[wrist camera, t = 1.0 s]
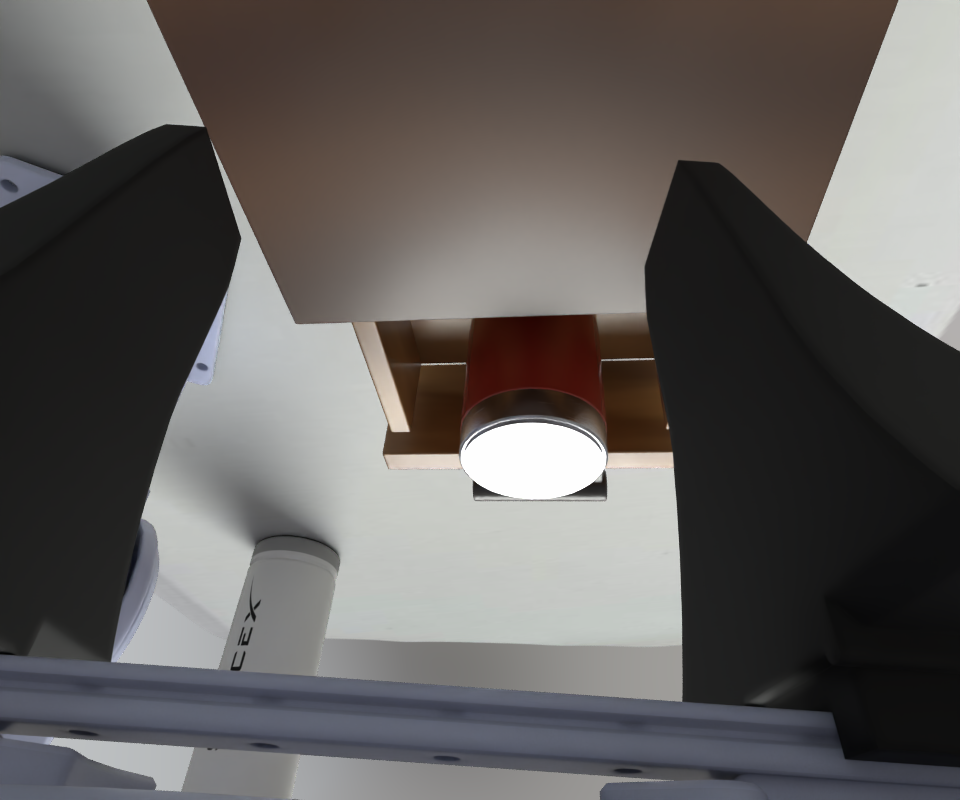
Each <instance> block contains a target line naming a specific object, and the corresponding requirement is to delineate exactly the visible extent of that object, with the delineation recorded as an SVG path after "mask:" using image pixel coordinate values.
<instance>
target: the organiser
mask: <svg viewBox="0 0 960 800" xmlns="http://www.w3.org/2000/svg"><path fill="white" fill-rule="evenodd" d="M147 2H148V4H149V7H150V9H151V11H152V13H153V15H154V17H155V20H156V22H157V24H158V26H159V28H160V30H161V33H162V35H163V37H164V39H165V41H166V43H167V46H168V48H169V50H170V52H171V54H172V56H173V59H174V61H175V63H176V65H177V67H178V70H179V72H180V74H181V76H182V78H183V80H184V83H185V85H186V87H187V89H188V91H189V93H190V96H191V98H192V100H193V102H194V104H195V106H196V109H197V111H198V113H199V115H200V117H201V119H202V122H203V124H204V126H205V127H206V128H207V131H208V134H209V137H210V139H211V141H212V143H213V146H214V148H215V150H216V152H217V154H218V156H219V159H220V161H221V163H222V165H223V167H224V169H225V172H226V174H227V176H228V178H229V180H230V182H231V185H232V187H233V189H234V191H235V193H236V195H237V198H238V200H239V202H240V204H241V206H242V208H243V211H244V213H245V215H246V217H247V219H248V222H249V224H250V226H251V228H252V230H253V232H254V235H255V237H256V239H257V241H258V243H259V245H260V248H261V250H262V252H263V254H264V256H265V258H266V261H267V263H268V265H269V267H270V269H271V271H272V274H273V276H274V278H275V280H276V282H277V284H278V287H279V289H280V291H281V293H282V295H283V298H284V300H285V302H286V304H287V306H288V308H289V311H290V313H291V315H292V317H293V319H294V321H295V323H296V324H316V323H346V322H377V321H408V320H439V319H470V318H500V317H531V316H562V315H593V314H624V313H647V312H646V296H645V270H644V266H645V263H646V260H647V257H648V254H649V250H650V247H651V244H652V241H653V238H654V235H655V232H656V228H657V225H658V222H659V219H660V216H661V213H662V210H663V206H664V203H665V200H666V197H667V194H668V191H669V188H670V184H671V181H672V178H673V175H674V172H675V169H676V166H677V162H678V160H687V161H702V162H716V163H720V164H721V165H722V166H724V167H725V168H726V169H727V170H729V171H730V172H731V173H732V174H733V175H734V176H735V177H737V178H738V179H739V180H740V181H741V182H742V183H743V184H744V185H745V186H746V187H747V188H748V189H750V190H751V191H752V192H753V193H754V194H755V195H756V196H757V197H758V198H759V199H760V200H761V201H762V202H763V203H764V204H765V205H766V206H767V207H768V208H769V209H771V210H772V211H773V212H774V213H775V214H776V215H777V216H778V217H779V218H780V219H781V220H782V221H783V222H784V223H785V224H787V225H788V226H789V227H790V228H791V229H792V230H793V231H794V232H795V233H796V234H797V235H799V236H800V237H801V238H802V239H803V240H804V241H805V242H806V243H807V240H808V238H809V235H810V232H811V230H812V227H813V224H814V222H815V219H816V217H817V214H818V211H819V209H820V206H821V203H822V201H823V198H824V195H825V193H826V190H827V188H828V185H829V182H830V180H831V177H832V174H833V172H834V169H835V166H836V164H837V161H838V158H839V156H840V153H841V151H842V148H843V145H844V143H845V140H846V137H847V135H848V132H849V129H850V127H851V124H852V121H853V119H854V116H855V114H856V111H857V108H858V106H859V103H860V100H861V98H862V95H863V92H864V90H865V87H866V85H867V82H868V79H869V77H870V74H871V71H872V69H873V66H874V63H875V61H876V58H877V55H878V53H879V50H880V48H881V45H882V42H883V40H884V37H885V34H886V32H887V29H888V26H889V24H890V21H891V18H892V16H893V13H894V11H895V8H896V5H897V3H898V0H147Z"/></svg>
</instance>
